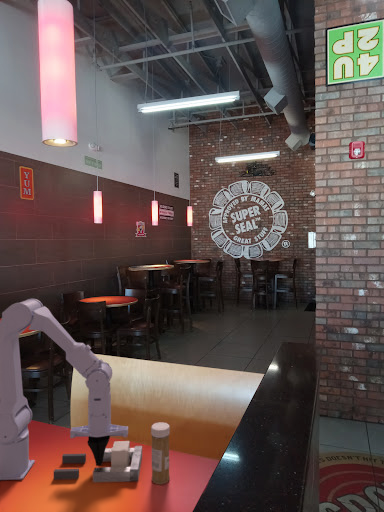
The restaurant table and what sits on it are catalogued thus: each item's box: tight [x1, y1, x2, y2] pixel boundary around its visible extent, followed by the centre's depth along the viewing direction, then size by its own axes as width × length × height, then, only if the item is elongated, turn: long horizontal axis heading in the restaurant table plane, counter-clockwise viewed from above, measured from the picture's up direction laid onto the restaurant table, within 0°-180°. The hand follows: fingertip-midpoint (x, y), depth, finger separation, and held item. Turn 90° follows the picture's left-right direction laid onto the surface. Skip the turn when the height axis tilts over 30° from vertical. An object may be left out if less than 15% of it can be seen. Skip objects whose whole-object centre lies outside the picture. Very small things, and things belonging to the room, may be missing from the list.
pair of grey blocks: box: [53, 453, 87, 481], centre depth 96 cm, size 6×8×2 cm
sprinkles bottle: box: [150, 421, 171, 485], centre depth 92 cm, size 5×5×14 cm
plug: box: [110, 440, 131, 467], centre depth 96 cm, size 4×5×6 cm
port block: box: [92, 445, 143, 483], centre depth 96 cm, size 11×11×3 cm
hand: (99, 463), depth 96 cm, fingers closed
